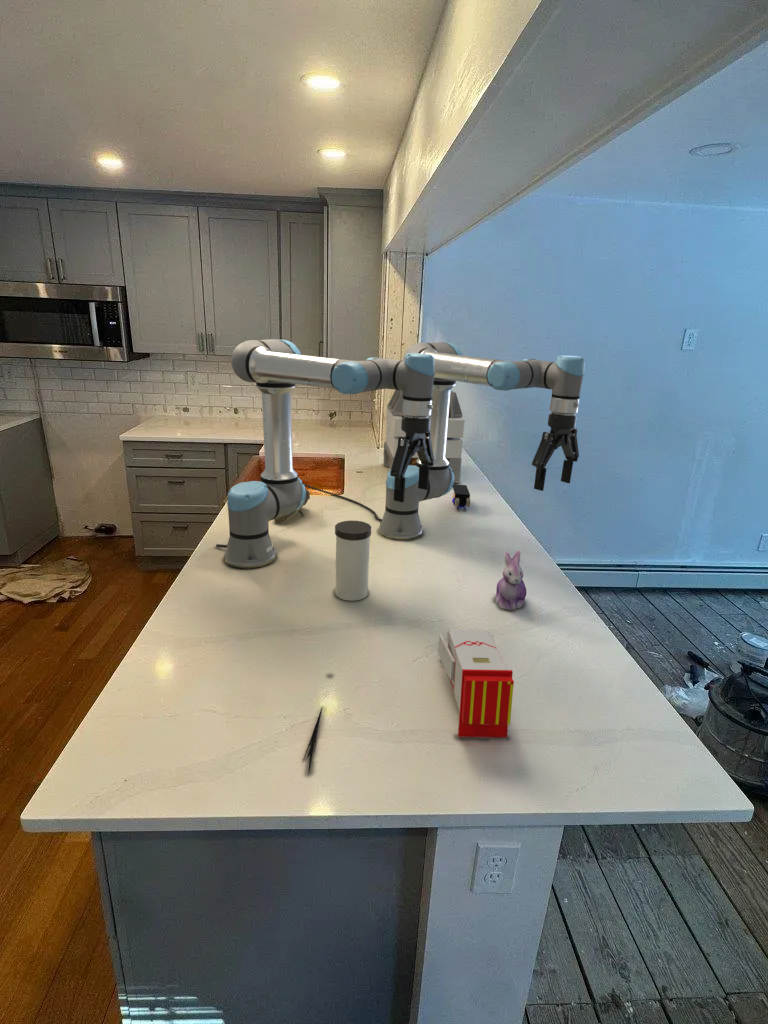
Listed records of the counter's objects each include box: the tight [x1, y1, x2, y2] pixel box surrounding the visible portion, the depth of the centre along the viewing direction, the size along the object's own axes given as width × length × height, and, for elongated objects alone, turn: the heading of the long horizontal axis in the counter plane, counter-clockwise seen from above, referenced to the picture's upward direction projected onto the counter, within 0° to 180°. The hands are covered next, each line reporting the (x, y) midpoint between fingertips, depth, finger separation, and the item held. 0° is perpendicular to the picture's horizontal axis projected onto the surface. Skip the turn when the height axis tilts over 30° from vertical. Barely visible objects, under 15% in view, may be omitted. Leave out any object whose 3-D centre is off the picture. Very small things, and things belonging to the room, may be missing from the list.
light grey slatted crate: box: [383, 390, 465, 484], centre depth 268 cm, size 34×33×41 cm
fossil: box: [274, 488, 311, 524], centre depth 211 cm, size 22×10×15 cm
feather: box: [301, 673, 332, 771], centre depth 108 cm, size 2×28×2 cm
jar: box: [334, 535, 371, 601], centre depth 154 cm, size 9×9×19 cm
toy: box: [437, 628, 515, 738], centre depth 117 cm, size 12×13×30 cm
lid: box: [334, 520, 372, 540], centre depth 151 cm, size 10×10×2 cm
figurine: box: [495, 550, 527, 611], centre depth 153 cm, size 9×10×15 cm
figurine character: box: [451, 483, 471, 512], centre depth 229 cm, size 7×8×15 cm
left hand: (411, 494), depth 152 cm, fingers open, 13 cm apart
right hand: (552, 485), depth 166 cm, fingers open, 13 cm apart
